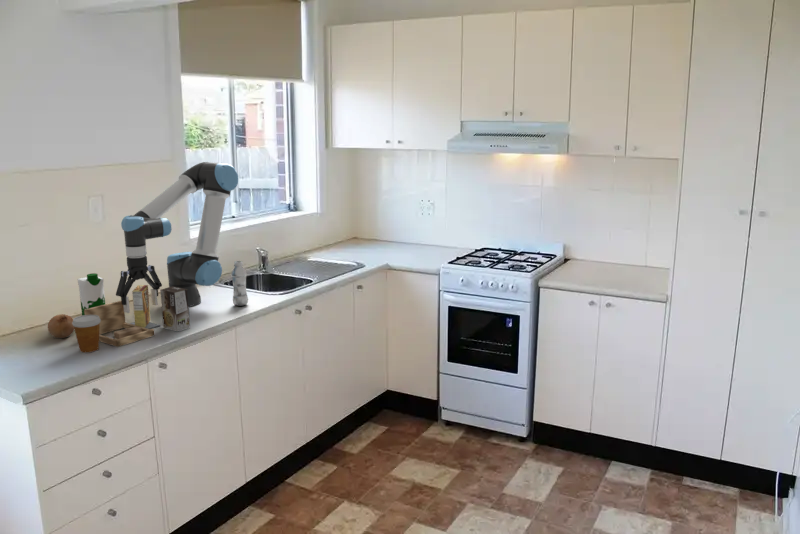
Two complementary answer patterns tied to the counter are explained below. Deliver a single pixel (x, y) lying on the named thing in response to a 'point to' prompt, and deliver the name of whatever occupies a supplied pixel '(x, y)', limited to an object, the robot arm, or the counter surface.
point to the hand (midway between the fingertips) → (141, 308)
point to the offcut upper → (127, 332)
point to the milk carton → (91, 291)
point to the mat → (149, 325)
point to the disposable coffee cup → (87, 332)
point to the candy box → (141, 305)
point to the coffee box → (175, 308)
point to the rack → (116, 324)
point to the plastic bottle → (239, 284)
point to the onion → (61, 326)
